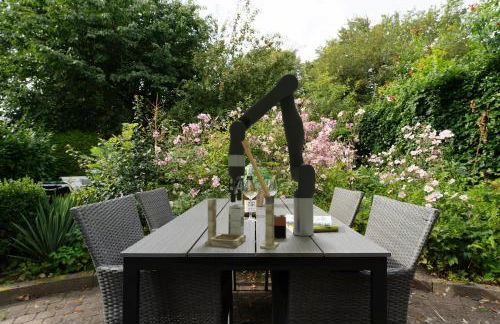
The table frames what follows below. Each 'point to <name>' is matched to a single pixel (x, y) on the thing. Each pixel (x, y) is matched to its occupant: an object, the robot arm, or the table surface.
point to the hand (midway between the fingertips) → (236, 201)
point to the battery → (279, 226)
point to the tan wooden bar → (255, 167)
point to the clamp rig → (236, 239)
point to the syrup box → (236, 219)
